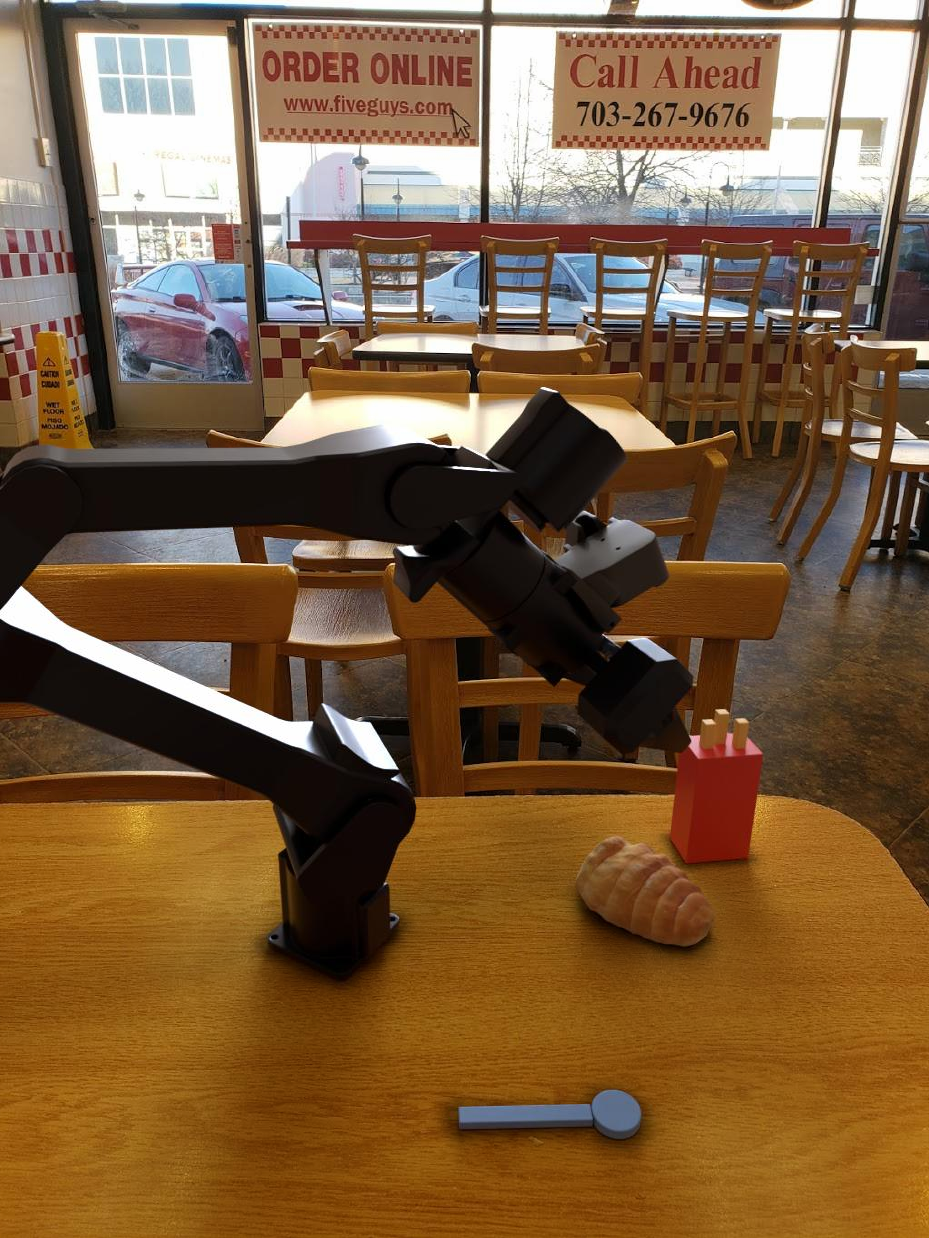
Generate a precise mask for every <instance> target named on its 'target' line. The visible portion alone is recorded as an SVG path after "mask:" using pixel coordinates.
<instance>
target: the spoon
mask: <svg viewBox="0 0 929 1238" xmlns="http://www.w3.org/2000/svg"><path fill="white" fill-rule="evenodd" d="M457 1113H458V1129H459V1130H489V1129H490V1130H491V1129H492V1130H493V1129H494V1130H495V1129H534V1128H535V1129H537V1128H541V1129H542V1128H577V1127H578V1128H582V1127H583V1128H584V1127H585V1128H586V1127H593V1125H594V1127H595V1128H596V1130H597V1131H598V1132H599V1133H601V1134H602V1135H604V1136H606V1137H607V1138H610V1139H614V1140H624V1139H628V1138H631V1137H633V1136H634V1135H635V1134H637V1132H638V1131H639V1129H640V1128H641V1122H642V1110H641V1107H640V1105H639V1103H638V1101H637V1100H636V1099H635V1098H634V1097H633V1096H631V1095H630V1094H629V1093H627V1092H624V1091H622V1090H618V1089H606V1090H603V1091H601V1092H600V1093H598V1094H597V1095H596V1096H595V1097H594V1098H593V1100H592V1102H591V1104H590V1103H584V1104H583V1103H582V1104H577V1103H576V1104H539V1105H538V1104H537V1105H536V1104H535V1105H495V1106H494V1105H493V1106H487V1105H486V1106H458V1112H457Z"/></svg>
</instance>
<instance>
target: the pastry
mask: <svg viewBox="0 0 929 1238" xmlns="http://www.w3.org/2000/svg"><path fill="white" fill-rule="evenodd" d="M574 885H575V888H576V891H577V892H578V893H579V895H580V897H581V898H582V899H583V901H584V903H585V905H586V906H587V908H588V909H589V910H590V911H591V912H592V911H594V912H596V913H597V914H598V915H600V916H601V917H602V919H603V920H605V922H608V923H611V924H613V925H615V926H616V927H618V928H623V929H624V930H627V931H628V932H629V933H632V935H638V936H641V937H642V938H643V939H647V940H650V941H652V942H655V943H657V944H659V943H661V944H664V945H676V946H680V947H688V946H692V945H696V944H697V943H699V942H700V941H701V940H703V939H704V938H706V936H707V935H708V933H709V931H710V929H711V926H712V925H713V923H714V921H715V914H714V912H713V907H712V905H711V904H710V903H709V901H708V900H707V898H706V897H705V896H704V895H703V892H702V889H701V887H700V886H699V885H697V884H695V883H693V882H691V880H690V878H689V876H688V874H687V872H686V871H684V870H683V869H680V868H677V867H676V864H674V863H673V862H672V861H671V860H670V858H669V857H668V856H667V855H666V854H664V853H659V854H656V852H655V850H654V849H653V848H652V847H651V846H650V845H648V844H647V843H644V842H639V843H636V844H631V843H630V842H628V841H627V840H625V838H624V837H622V836H616V835H615V836H614V835H613V836H610V837H608V838H606V839H604V840H602V841H600V842H598V843H597V844H596V846H595V847H594V849H593V850H592V852H590V853H589V854H588V855H587V856H586V858H585V859H584V861H583V863H582V864H581V867H580V868H579V872H578V873H577V876H576V879H575V884H574Z"/></svg>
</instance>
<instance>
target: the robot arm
mask: <svg viewBox="0 0 929 1238" xmlns="http://www.w3.org/2000/svg"><path fill="white" fill-rule="evenodd" d="M627 462H628V457H627V454H626V452H625V450H624V449H623V447H622V446H621V444H620V443H619V441H617V439H616V438H615V437H614V436H613V435H612V433H611V432H610V431H609V430H608V429H605V428H604V427H603V428H602V427H600V426H599V425H598V424H596V423H595V422H594V421H593V420H592V419H590V417H588V416H587V415H586V414H585V413H583V412H582V411H580V410H579V409H578V408H576V407H575V406H573V405H572V404H570V403H569V402H568V401H567V399H565V398H564V396H563V395H562V394H561V392H560V391H557V390H553V389H551V388H547V387H540V388H539V389H538V390H537V391H536V393H535V394H534V395H532V397H531V398H530V399H529V401H528V402H527V403H526V405H525V407H524V408H523V410H522V413H521V414H520V415H519V416H518V417H517V418H516V420H514V421H513V423H512V424H511V425H510V426H509V427H508V428H507V430H505V432H504V433H503V434H502V435H501V436H500V437H499V439H497V441H496V442H495V443H494V444H493V445H492V446H491V447H490V448H489V450H488V451H487V452H486V453H485V454H484V455H483V454H481V453H480V452H477V451H476V450H473V449H472V448H470V447H466V446H464V445H461V446H453V445H451V446H450V445H441V444H436V443H434V442H432V441H431V440H429V439H427V438H425V437H423V436H421V435H419V434H418V433H416V432H414V431H413V430H410V429H408V428H406V427H405V426H401V425H396V424H390V423H387V424H386V423H385V424H377V425H371V426H368V427H361V428H357V429H350V430H345V431H340V432H335V433H330V434H327V435H324V436H322V437H318V438H315V439H312V440H309V441H306V442H302V443H298V444H293V445H287V446H282V447H186V448H185V447H183V448H181V447H179V448H176V447H173V448H171V447H165V448H162V447H161V448H158V447H157V448H66V447H60V446H56V445H53V444H45V443H43V444H36V445H32V446H27V447H25V448H24V449H21V450H20V451H18V452H16V453H15V454H14V455H13V457H12V458H11V459H10V460H9V462H8V463H7V464H6V467H5V469H4V471H3V472H2V473H1V474H0V705H3V704H4V705H6V704H7V705H11V704H12V705H13V704H14V705H17V704H18V705H19V704H20V705H26V706H27V705H28V706H32V707H35V708H38V709H41V710H43V711H46V712H48V713H51V714H53V715H55V716H58V717H61V718H64V719H66V720H69V721H71V722H74V723H76V724H78V725H81V726H84V727H86V728H89V729H91V730H94V731H97V732H99V733H102V734H105V735H107V736H109V737H112V738H115V739H117V740H119V741H122V742H125V743H127V744H130V745H132V746H134V747H138V748H140V749H143V750H145V751H148V752H150V753H153V754H156V755H157V756H160V757H163V758H166V759H168V760H170V761H173V762H176V763H178V764H181V765H183V766H186V767H189V768H192V769H194V770H197V771H199V772H201V773H203V774H206V775H209V776H210V777H211V776H212V777H215V778H217V779H218V780H222V781H224V782H226V783H230V784H232V785H235V786H237V787H239V788H242V789H245V790H247V791H249V792H252V793H255V794H258V795H260V796H262V797H263V798H265V799H266V800H268V801H269V802H270V803H272V811H273V813H274V816H275V820H276V823H277V825H278V828H279V832H280V835H281V836H282V840H283V843H284V848H283V849H282V850H280V851H279V852H278V853H277V862H278V874H279V888H280V889H279V891H280V904H281V905H280V906H281V919H282V923H280V924H279V925H278V926H277V927H276V928H275V929H274V930H272V931H271V932H270V933H269V934H267V936H266V945H267V946H268V947H270V948H272V949H274V950H275V951H278V952H280V953H282V954H284V955H287V956H289V957H290V958H292V959H295V960H297V961H299V962H301V963H303V964H305V965H307V966H309V967H312V968H314V969H316V970H318V971H320V972H322V973H324V974H326V975H328V976H331V977H333V978H335V979H337V980H345V979H347V978H348V977H349V976H350V975H352V973H353V972H355V971H356V969H358V968H359V966H361V965H362V964H363V963H364V962H365V961H366V959H368V958H369V957H370V956H372V955H373V954H374V952H375V951H376V950H378V948H379V947H380V946H382V944H384V942H386V940H388V939H389V937H390V936H391V935H392V934H393V932H394V931H396V930H397V928H398V927H399V926H400V917H399V916H398V915H397V914H394V913H392V912H391V892H390V891H391V890H390V889H391V888H390V884H389V883H387V882H386V881H387V878H388V875H389V873H390V869H391V867H392V865H393V862H394V859H395V857H396V854H397V851H398V848H399V845H400V844H401V843H402V842H403V841H404V839H405V838H406V837H408V835H409V833H410V832H411V830H412V828H413V826H414V824H415V821H416V816H417V803H416V799H415V795H414V793H413V792H412V790H411V788H410V787H409V785H408V784H407V782H406V780H405V779H404V777H403V775H402V773H401V772H400V769H399V768H398V766H397V763H396V762H395V761H394V759H393V758H392V755H391V754H390V752H389V751H388V750H387V748H386V746H385V745H384V743H383V741H382V739H381V738H380V736H379V734H378V733H377V731H376V730H375V728H374V726H373V725H372V723H371V722H370V721H358V720H357V721H356V720H353V719H350V718H348V717H346V716H344V715H343V714H341V713H340V712H338V711H337V710H335V709H334V708H333V707H331V706H330V705H328V704H325V703H321V704H320V705H319V707H318V709H317V712H316V714H315V716H314V719H313V721H311V720H310V721H288V720H283V719H280V718H278V717H275V716H273V715H271V714H269V713H266V712H265V711H262V710H260V709H258V708H255V707H253V706H250V705H248V704H246V703H244V702H241V701H239V700H237V699H236V698H235V699H234V698H232V697H230V696H229V695H225V694H223V693H222V692H218V691H216V690H214V689H212V688H210V687H207V686H205V685H203V684H201V683H198V682H196V681H194V680H192V679H190V678H187V677H185V676H183V675H180V674H179V673H176V672H173V671H171V670H169V669H167V668H165V667H162V666H160V665H157V664H155V663H153V662H151V661H149V660H147V659H143V658H142V657H140V656H138V655H135V654H133V653H130V652H128V651H127V650H124V649H121V648H119V647H117V646H114V645H112V644H110V643H108V642H106V641H104V640H101V639H99V638H96V637H94V636H92V635H90V634H87V633H85V632H83V631H81V630H78V629H76V628H74V627H72V626H70V625H68V624H66V623H65V622H63V620H62V621H61V620H60V619H59V618H58V617H57V616H55V614H53V612H51V611H50V610H49V609H48V608H46V607H45V606H44V605H43V604H42V603H41V602H40V601H39V600H38V599H37V598H35V596H33V595H32V594H31V593H30V592H29V591H28V590H26V589H25V588H24V587H23V586H22V585H23V584H24V583H25V582H26V581H27V580H28V578H29V577H30V576H31V575H32V574H33V572H34V571H35V570H36V569H37V568H38V566H39V565H40V564H41V562H43V560H44V559H45V558H46V556H47V555H48V554H49V553H50V552H51V551H52V550H53V549H54V548H55V547H56V546H57V545H58V544H59V543H60V542H61V541H62V540H63V539H64V538H65V537H66V536H68V535H72V534H89V533H90V534H91V533H118V532H146V531H169V530H170V531H171V530H173V531H175V530H197V529H198V530H199V529H224V528H225V529H228V528H251V527H253V528H254V527H255V528H256V527H281V526H285V527H286V526H297V527H304V528H311V529H316V530H321V531H325V532H329V533H333V534H336V535H341V536H344V537H349V538H352V539H357V540H364V541H371V542H379V543H387V544H394V545H401V546H394V548H393V549H392V556H393V558H394V566H393V567H394V568H393V577H392V582H393V584H394V586H396V587H397V588H398V590H399V591H400V592H401V593H402V594H403V595H404V596H405V597H406V598H407V599H408V600H409V601H410V602H411V603H413V604H416V603H419V602H420V601H422V599H424V598H425V595H427V594H428V592H429V591H430V590H431V589H432V588H433V587H434V586H435V585H436V583H437V584H438V585H439V586H440V587H441V588H442V589H444V590H445V591H446V592H447V593H448V594H449V595H450V596H452V597H453V598H454V599H455V600H456V601H457V602H459V604H460V605H462V606H463V607H464V608H465V609H466V610H467V611H468V612H470V613H471V614H472V615H473V616H474V617H475V618H476V619H477V620H479V621H480V622H481V623H482V624H483V625H484V626H485V627H486V628H487V630H488V632H490V633H491V634H492V636H494V637H495V638H496V639H497V640H498V641H499V642H500V643H501V644H502V645H503V646H504V647H506V648H507V649H508V650H509V651H510V652H511V653H512V654H513V655H515V656H516V657H517V658H518V657H519V658H520V659H521V660H522V661H523V662H524V663H525V664H526V665H527V666H529V667H531V668H532V669H534V670H535V671H536V672H537V674H538V675H540V676H541V677H542V678H543V679H545V681H547V682H548V684H550V685H551V686H552V687H553V688H555V687H556V686H557V685H558V684H559V683H560V682H561V681H562V680H567V681H570V682H573V683H575V684H579V685H581V686H583V689H582V690H581V691H580V692H579V693H578V696H577V709H576V710H577V711H576V713H577V715H578V716H579V717H580V718H581V719H582V720H583V721H584V722H585V723H586V724H588V725H589V726H590V727H591V728H592V730H594V731H595V732H596V733H597V734H598V735H599V736H600V737H601V738H602V739H603V740H604V741H606V742H607V743H608V744H609V745H610V746H612V748H614V749H615V750H616V751H617V752H618V753H619V754H621V755H622V756H623V755H624V756H625V755H628V754H631V753H634V752H636V750H637V749H638V748H643V749H650V750H657V751H664V752H671V753H677V754H679V753H682V752H683V751H684V750H685V749H686V748H687V747H688V746H689V745H690V744H691V738H690V736H691V735H690V734H689V732H688V729H687V728H686V725H685V723H684V721H683V719H682V717H681V715H680V712H679V711H678V709H677V705H678V704H679V703H680V702H681V701H682V699H684V697H685V696H686V695H687V694H688V693H689V692H690V691H691V690H692V689H693V687H694V679H695V678H694V677H695V676H694V675H693V674H692V673H691V672H690V671H689V670H688V668H687V667H685V666H684V665H683V663H682V662H681V661H679V659H678V658H676V657H675V656H673V655H672V654H670V653H669V652H668V651H666V650H664V649H663V648H661V646H659V645H657V644H656V643H655V642H653V641H652V640H650V639H649V638H647V637H642V638H641V637H640V638H635V639H634V638H633V639H628V640H626V641H625V642H624V643H623V645H622V646H620V645H618V644H617V643H616V642H614V641H613V640H612V639H610V638H609V637H608V636H606V635H605V633H606V634H610V633H611V632H613V630H614V629H615V628H616V626H617V625H618V624H619V623H620V622H621V621H622V620H623V618H622V617H621V616H620V615H619V614H618V613H617V612H616V611H615V610H614V609H616V608H619V607H622V606H624V605H625V604H628V603H629V602H631V601H632V600H634V599H635V598H637V597H639V596H640V595H642V594H644V593H646V592H648V591H649V590H650V589H652V588H659V587H660V586H662V585H664V584H665V583H666V582H667V581H668V580H669V578H670V572H669V570H668V566H667V563H666V561H665V558H664V556H663V555H664V554H663V552H662V550H661V546H660V544H659V541H658V537H657V535H656V533H655V532H654V531H652V530H650V529H647V528H646V527H644V526H642V525H640V524H638V523H636V522H634V521H632V520H629V519H620V520H619V519H617V518H615V517H610V518H609V519H608V520H607V521H608V525H607V524H606V523H604V522H603V521H602V520H601V519H600V518H598V517H597V516H596V515H594V514H591V513H590V512H589V511H586V510H584V509H585V508H587V506H588V505H589V504H590V503H591V502H592V501H593V500H594V499H595V497H596V496H597V495H598V494H599V493H600V492H601V491H602V490H603V489H604V487H605V486H606V485H607V484H608V483H609V482H610V481H611V480H612V479H613V478H614V477H615V475H616V474H617V473H618V472H619V471H620V470H621V468H622V467H623V466H624V465H625V464H626V463H627ZM504 506H506V507H508V509H509V510H511V511H512V512H513V513H514V514H515V515H516V516H517V517H518V518H519V519H521V521H522V522H524V523H525V524H526V525H528V526H529V527H530V528H531V529H533V530H534V531H536V532H538V533H541V532H543V530H544V529H545V528H547V525H548V526H549V527H550V528H552V529H553V530H554V531H555V532H556V533H560V532H561V531H562V530H563V531H565V539H564V545H563V546H562V549H563V551H564V553H563V554H562V555H560V556H559V557H558V558H556V559H554V558H553V557H552V556H551V555H549V553H547V552H545V551H543V550H542V549H540V548H538V547H537V546H536V545H535V544H534V543H533V542H532V541H531V540H530V539H529V537H527V536H526V535H525V534H524V533H523V532H522V530H520V529H519V527H517V526H516V525H515V524H514V522H512V521H511V520H510V519H509V518H508V517H507V516H506V515H505V514H504V513H503V512H502V511H501V510H502V509H504ZM604 656H605V657H606V658H607V659H608V660H607V659H606V658H605V657H604Z"/></svg>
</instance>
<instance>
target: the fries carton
mask: <svg viewBox="0 0 929 1238" xmlns="http://www.w3.org/2000/svg"><path fill="white" fill-rule="evenodd" d="M729 723H730V712H729V711H728V710H727V709H726V708H723V709H722V708H721V709H715V711H714V718H713V719H711V718H710V719H701V723H700V724H701V725H700V732H699V735H689V736H690V738H691V744H690V745H689V746H688V747H687V748H686V749H685V750H684V751H683V752H682V753H678V760H677V769H676V776H675V777H676V779H675V787H674V796H673V806H672V815H671V823H670V833H669V839H670V840H671V842H672V844H673V846H674V847H675V848H676V850H677V851H678V854H679V855H680V857H681V858H682V860H683V861H684V863H685V864H696V863H697V864H699V863H709V862H718V861H719V862H721V861H732V860H742V859H749V856H750V849H751V841H752V835H753V828H754V821H755V815H756V807H757V801H758V795H759V788H760V787H759V786H760V781H761V774H762V767H763V760H764V753H763V752H762V751H761V750H760V749H759V748H758V747H757V745H756V744H755V743H754V742H753V741H752V740H751V739H750V738H749V737H748V733H749V726H750V722H749V721H748V720H747V719H746V718H745V717H742V718H741V717H740V718H734V722H733V723H734V724H733V730H732V732H730V733H729V732H728V730H729Z"/></svg>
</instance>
